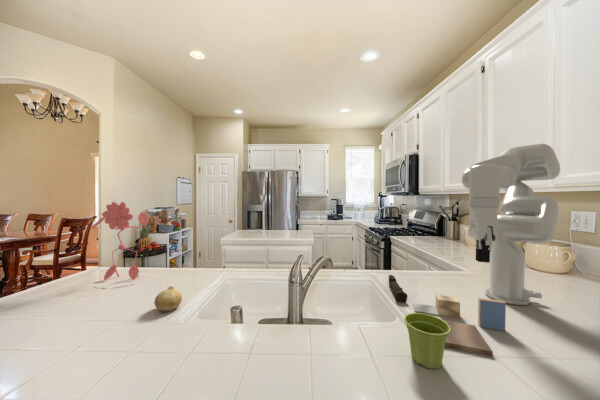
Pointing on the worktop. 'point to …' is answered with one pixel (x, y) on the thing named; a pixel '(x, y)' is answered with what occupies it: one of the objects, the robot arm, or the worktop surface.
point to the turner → (441, 307)
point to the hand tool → (397, 290)
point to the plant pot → (427, 338)
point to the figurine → (120, 218)
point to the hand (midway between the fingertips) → (482, 261)
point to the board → (467, 339)
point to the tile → (491, 314)
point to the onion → (168, 299)
